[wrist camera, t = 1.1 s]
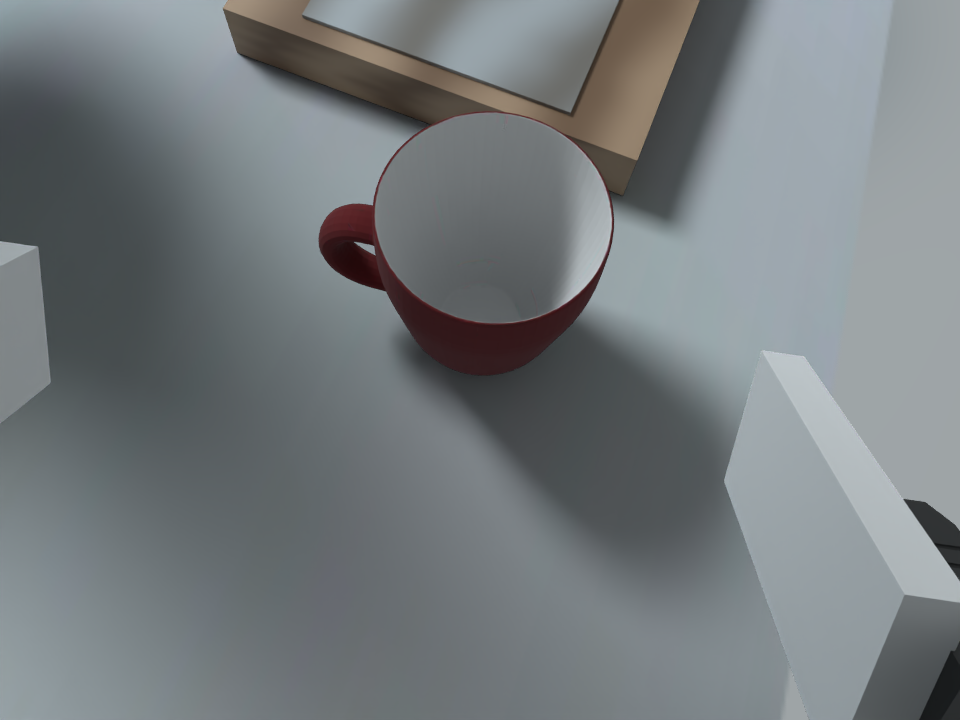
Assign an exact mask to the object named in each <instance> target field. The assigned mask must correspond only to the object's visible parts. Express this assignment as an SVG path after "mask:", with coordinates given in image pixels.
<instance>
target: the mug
mask: <svg viewBox="0 0 960 720" xmlns="http://www.w3.org/2000/svg"><path fill="white" fill-rule="evenodd" d="M613 232H614V214H613V206H612V201H611V197H610V193H609V190H608V187H607V185H606V183H605V180H604V178H603V176H602V174H601V173H600V171H599V169H598V168H597V166H596V165H595V163H594V162H593V160H592V159H591V158H590V157H589V156H588V154H587V153H586V152H585V151H584V150H583V149H582V148H581V147H580V146H579V145H578V144H577V143H575V142H574V141H573V140H572V139H571V138H569V137H568V136H566V135H565V134H564V133H562V132H561V131H559V130H557V129H555V128H554V127H552V126H550V125H548V124H546V123H544V122H541V121H539V120H536V119H533V118H530V117H527V116H523V115H519V114H514V113H508V112H498V111H481V112H471V113H465V114H460V115H456V116H452V117H449V118H446V119H443V120H441V121H438V122H436V123H434V124H432V125H430V126H428V127H426V128H424V129H423V130H421V131H420V132H418V133H417V134H415V135H414V136H412V137H411V138H410V139H409V140H408V141H406V142H405V143H404V144H403V145H402V146H401V147H400V148H399V149H398V150H397V152H396V153H395V154H394V155H393V157H392V158H391V159H390V161H389V162H388V164H387V165H386V167H385V169H384V171H383V173H382V175H381V177H380V179H379V182H378V185H377V188H376V192H375V196H374V202H373V206H372V205H366V204H349V205H344V206H341V207H339V208H336V209H335V210H333V211H332V212H331V213H330V214H329V215H328V216H327V217H326V219H325V220H324V222H323V224H322V226H321V229H320V233H319V248H320V251H321V253H322V255H323V257H324V258H325V260H326V262H327V263H328V264H329V265H330V266H331V267H332V268H333V269H334V270H335V271H337V272H338V273H340V274H341V275H343V276H344V277H346V278H348V279H350V280H352V281H354V282H357V283H359V284H362V285H365V286H368V287H371V288H375V289H379V290H383V291H386V292H387V294H388V296H389V298H390V300H391V302H392V304H393V305H394V307H395V309H396V311H397V312H398V314H399V315H400V317H401V319H402V320H403V322H404V323H405V325H406V326H407V328H408V330H409V331H410V333H411V334H412V336H413V337H414V339H415V340H416V342H417V343H418V344H419V345H420V346H421V348H422V349H423V350H424V351H425V352H426V353H427V354H428V355H430V356H431V357H432V358H433V359H435V360H436V361H438V362H439V363H441V364H443V365H444V366H446V367H448V368H451V369H453V370H456V371H459V372H462V373H466V374H471V375H496V374H501V373H505V372H509V371H512V370H514V369H517V368H519V367H521V366H523V365H525V364H527V363H528V362H530V361H531V360H533V359H534V358H535V357H537V356H538V355H539V354H540V353H542V352H543V351H544V350H545V349H546V348H547V347H548V346H549V345H550V344H551V343H552V342H553V341H554V340H555V339H557V338H558V337H559V336H560V335H561V334H562V333H563V332H564V331H565V330H566V329H567V328H568V327H569V326H570V325H571V324H572V323H573V322H574V321H575V319H576V318H577V317H578V316H579V315H580V313H581V312H582V311H583V309H584V308H585V306H586V305H587V303H588V302H589V300H590V298H591V296H592V294H593V292H594V291H595V289H596V286H597V284H598V282H599V279H600V277H601V274H602V272H603V269H604V266H605V264H606V261H607V258H608V255H609V252H610V248H611V244H612V239H613ZM354 242H360V243H365V244H369V245H373V246H374V247H375V254H376V256H375V255H373V254H371V253H369V252H368V251H366V250H364V249H363V248H361V247H360V246H358V245H357V244H356V243H354Z"/></svg>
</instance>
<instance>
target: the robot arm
mask: <svg viewBox="0 0 960 720" xmlns="http://www.w3.org/2000/svg"><path fill="white" fill-rule="evenodd" d="M50 383H51V377H50V367H49V356H48V345H47V335H46V324H45V313H44V302H43V292H42V281H41V270H40V260H39V249H38V247H37V246H30V245H23V244H16V243H9V242H2V241H0V424H1V423H2V422H3V421H4V420H6V419H7V418H8V417H9V416H11V415H12V414H13V413H14V412H16V411H17V410H18V409H19V408H20V407H22V406H23V405H24V404H25V403H27V402H28V401H29V400H30V399H32V398H33V397H34V396H35V395H37V394H38V393H39V392H40V391H42V390H43V389H44V388H45V387H47V386H48V385H49V384H50ZM724 483H725V486H726V488H727V491H728V494H729V497H730V500H731V502H732V505H733V508H734V511H735V514H736V516H737V519H738V522H739V525H740V528H741V530H742V533H743V536H744V539H745V542H746V544H747V547H748V550H749V553H750V556H751V558H752V561H753V564H754V567H755V570H756V572H757V575H758V578H759V581H760V584H761V586H762V589H763V592H764V595H765V598H766V600H767V603H768V606H769V609H770V612H771V614H772V617H773V620H774V623H775V626H776V628H777V631H778V634H779V637H780V640H781V642H782V645H783V648H784V651H785V654H786V656H787V659H788V662H789V665H790V668H791V670H792V673H793V676H794V679H795V682H796V684H797V687H798V690H799V693H800V695H801V698H802V701H803V704H804V707H805V710H806V712H807V715H808V718H809V720H960V531H959V529H958V528H957V527H956V525H955V524H953V523H952V522H951V521H949V520H948V519H946V518H945V517H944V516H943V515H942V514H940V513H939V512H937V511H936V510H935V509H934V508H932V507H931V506H930V505H928V504H927V503H926V502H921V501H914V500H907V499H902V497H901V496H900V494H899V493H898V491H897V490H896V488H895V487H894V486H893V484H892V483H891V481H890V480H889V478H888V477H887V475H886V474H885V473H884V471H883V470H882V468H881V467H880V465H879V464H878V462H877V461H876V460H875V458H874V457H873V455H872V454H871V452H870V451H869V449H868V448H867V447H866V445H865V444H864V442H863V441H862V439H861V438H860V436H859V435H858V434H857V432H856V431H855V429H854V428H853V427H852V425H851V423H850V422H849V421H848V419H847V418H846V417H845V415H844V413H843V412H842V410H841V409H840V408H839V406H838V405H837V403H836V402H835V400H834V399H833V397H832V396H831V395H830V393H829V392H828V390H827V389H826V387H825V386H824V384H823V383H822V382H821V380H820V379H819V377H818V376H817V374H816V373H815V371H814V370H813V369H812V367H811V366H810V364H809V363H808V361H807V360H806V358H805V357H804V356H798V355H791V354H784V353H777V352H770V351H763V350H761V353H760V356H759V360H758V363H757V367H756V370H755V374H754V377H753V381H752V384H751V388H750V391H749V395H748V398H747V402H746V405H745V409H744V412H743V416H742V419H741V423H740V426H739V430H738V433H737V437H736V440H735V444H734V447H733V451H732V454H731V458H730V461H729V465H728V468H727V472H726V475H725V479H724Z"/></svg>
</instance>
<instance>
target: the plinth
mask: <svg viewBox="0 0 960 720" xmlns="http://www.w3.org/2000/svg"><path fill="white" fill-rule="evenodd" d="M699 1H700V0H228V1H227V2H226V4H225V6H224V7H223V11H224V14H225V17H226V20H227V23H228V26H229V29H230V32H231V35H232V38H233V41H234V44H235V47H236V50H237V53H240V54H242V55H245V56H248V57H250V58H253V59H256V60H258V61H261V62H264V63H267V64H269V65H272V66H275V67H277V68H280V69H283V70H285V71H288V72H291V73H293V74H296V75H299V76H302V77H304V78H307V79H310V80H312V81H315V82H318V83H320V84H323V85H326V86H329V87H331V88H334V89H337V90H339V91H342V92H345V93H347V94H350V95H353V96H355V97H358V98H361V99H364V100H366V101H369V102H372V103H374V104H377V105H380V106H382V107H385V108H388V109H390V110H393V111H396V112H399V113H401V114H404V115H407V116H409V117H412V118H415V119H417V120H420V121H423V122H426V123H428V124H431V125H432V124H434V123H436V122H438V121H441V120H443V119H446V118H449V117H452V116H456V115H460V114H465V113H471V112H481V111H498V112H508V113H514V114H519V115H523V116H527V117H530V118H533V119H536V120H539V121H541V122H544V123H546V124H548V125H550V126H552V127H554V128H555V129H557V130H559V131H561V132H562V133H564V134H565V135H566V136H568V137H569V138H571V139H572V140H573V141H574V142H575V143H577V144H578V145H579V146H580V147H581V148H582V149H583V150H584V151H585V152H586V153H587V154H588V156H589V157H590V158H591V159H592V160H593V162H594V163H595V165H596V166H597V168H598V169H599V171H600V173H601V174H602V176H603V178H604V180H605V183H606V185H607V187H608V190H609V191H611V192H614V193H617V194H619V195H622V196H623V194H624V192H625V189H626V187H627V185H628V182H629V180H630V177H631V175H632V172H633V170H634V167H635V165H636V162H637V160H638V157H639V155H640V152H641V150H642V147H643V145H644V142H645V139H646V137H647V134H648V132H649V129H650V127H651V124H652V121H653V119H654V116H655V114H656V111H657V109H658V106H659V103H660V101H661V98H662V96H663V93H664V91H665V88H666V86H667V83H668V80H669V78H670V75H671V73H672V70H673V68H674V65H675V62H676V60H677V57H678V55H679V52H680V50H681V47H682V44H683V42H684V39H685V37H686V34H687V32H688V29H689V26H690V24H691V21H692V19H693V16H694V14H695V11H696V9H697V6H698V3H699Z"/></svg>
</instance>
